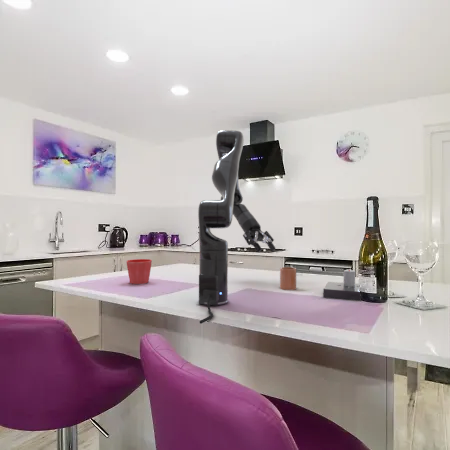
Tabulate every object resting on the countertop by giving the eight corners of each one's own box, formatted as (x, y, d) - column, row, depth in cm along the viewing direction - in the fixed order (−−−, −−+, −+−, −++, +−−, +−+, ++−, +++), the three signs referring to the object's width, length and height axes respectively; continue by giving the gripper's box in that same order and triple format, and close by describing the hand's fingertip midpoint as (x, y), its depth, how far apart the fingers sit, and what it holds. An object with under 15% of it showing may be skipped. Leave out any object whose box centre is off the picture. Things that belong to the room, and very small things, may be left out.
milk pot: (294, 290, 128) (294, 269, 128) (278, 288, 131) (278, 268, 131) (297, 287, 134) (297, 267, 134) (282, 286, 137) (282, 266, 137)
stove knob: (354, 287, 119) (355, 270, 119) (343, 286, 120) (343, 270, 120) (355, 285, 123) (355, 269, 123) (343, 284, 124) (343, 268, 124)
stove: (360, 300, 111) (360, 291, 111) (323, 297, 115) (323, 288, 115) (361, 291, 125) (361, 283, 125) (328, 289, 130) (328, 281, 130)
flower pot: (126, 285, 137) (126, 262, 137) (126, 281, 148) (126, 259, 148) (152, 284, 140) (152, 261, 140) (151, 280, 150) (151, 258, 150)
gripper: (241, 217, 143) (260, 245, 134) (263, 217, 152) (283, 244, 143) (232, 229, 147) (250, 257, 138) (255, 229, 156) (273, 255, 148)
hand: (267, 250), depth 141 cm, fingers open, 8 cm apart
